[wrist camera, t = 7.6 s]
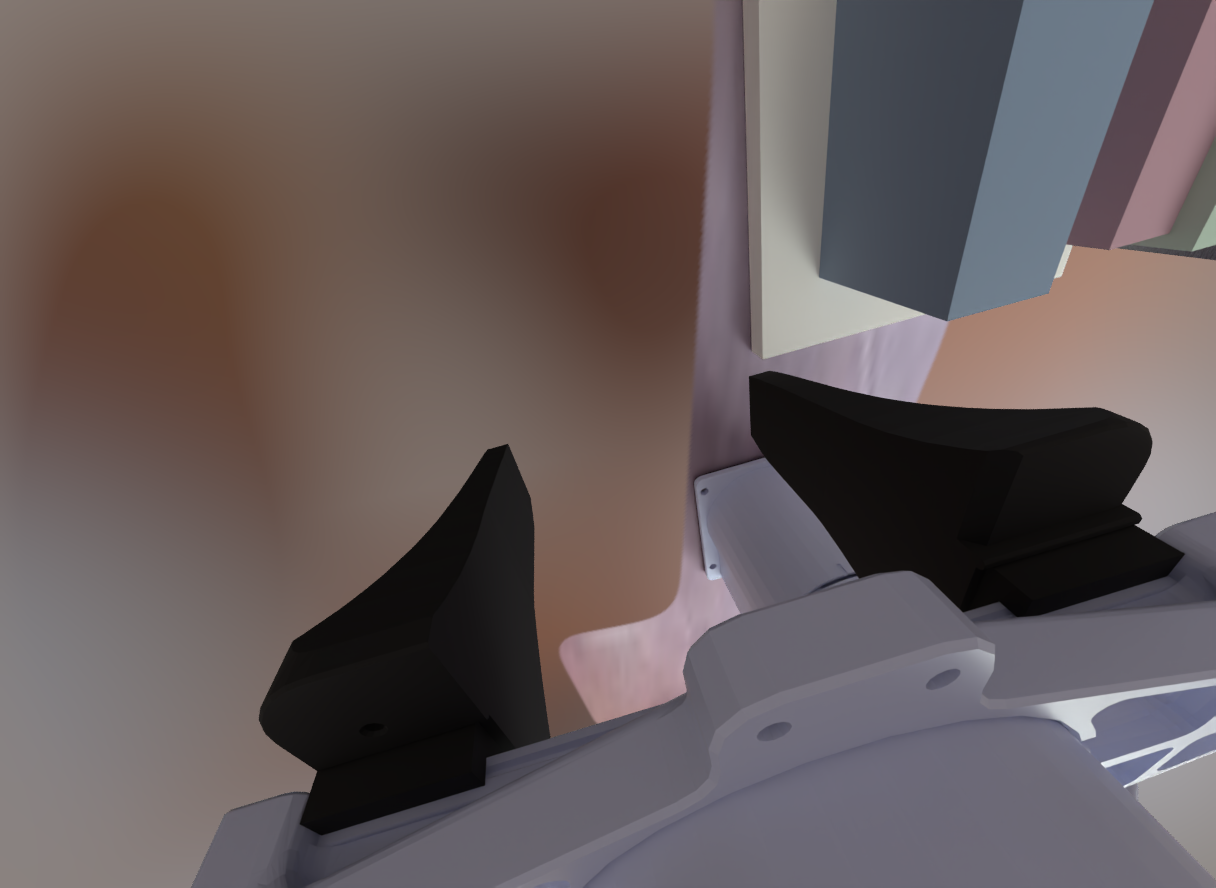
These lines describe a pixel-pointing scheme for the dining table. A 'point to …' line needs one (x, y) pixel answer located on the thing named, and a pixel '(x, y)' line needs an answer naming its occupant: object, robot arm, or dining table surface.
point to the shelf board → (796, 182)
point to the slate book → (966, 143)
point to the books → (1159, 141)
